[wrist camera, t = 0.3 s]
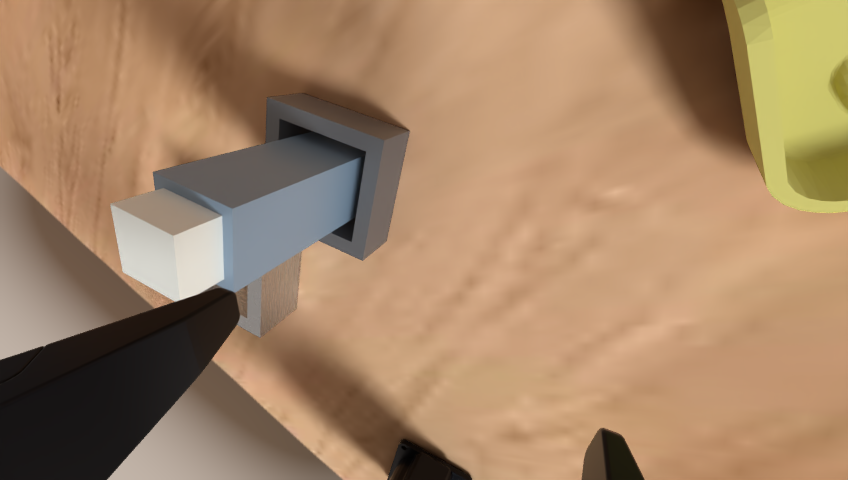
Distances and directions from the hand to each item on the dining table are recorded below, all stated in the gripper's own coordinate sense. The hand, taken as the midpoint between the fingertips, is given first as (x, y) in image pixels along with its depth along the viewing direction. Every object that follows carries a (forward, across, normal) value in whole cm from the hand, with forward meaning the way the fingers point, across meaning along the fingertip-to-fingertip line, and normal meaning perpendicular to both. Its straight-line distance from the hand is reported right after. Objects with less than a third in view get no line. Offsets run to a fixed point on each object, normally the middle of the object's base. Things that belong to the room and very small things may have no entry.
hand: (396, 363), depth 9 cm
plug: (+15, +10, +3) cm, 18 cm away
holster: (+15, +10, +3) cm, 18 cm away
